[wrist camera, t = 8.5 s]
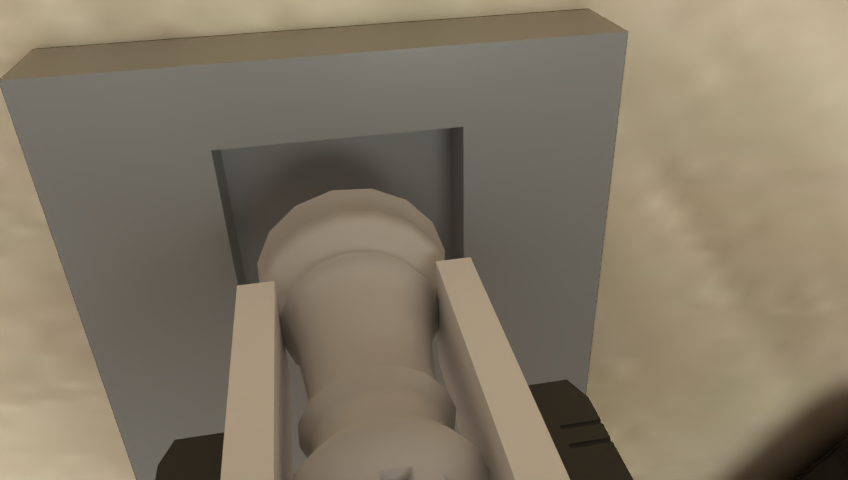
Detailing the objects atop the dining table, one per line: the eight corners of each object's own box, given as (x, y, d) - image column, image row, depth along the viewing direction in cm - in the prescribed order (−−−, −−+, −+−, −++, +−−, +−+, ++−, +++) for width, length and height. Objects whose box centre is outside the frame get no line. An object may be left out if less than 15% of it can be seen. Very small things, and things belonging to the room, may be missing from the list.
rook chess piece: (232, 202, 16) (196, 490, 9) (426, 158, 16) (533, 406, 9) (285, 352, 18) (288, 669, 11) (453, 311, 18) (554, 597, 12)
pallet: (543, 523, 29) (636, 767, 22) (200, 583, 28) (170, 873, 20) (588, 8, 19) (801, 131, 11) (33, 49, 17) (-171, 230, 9)
